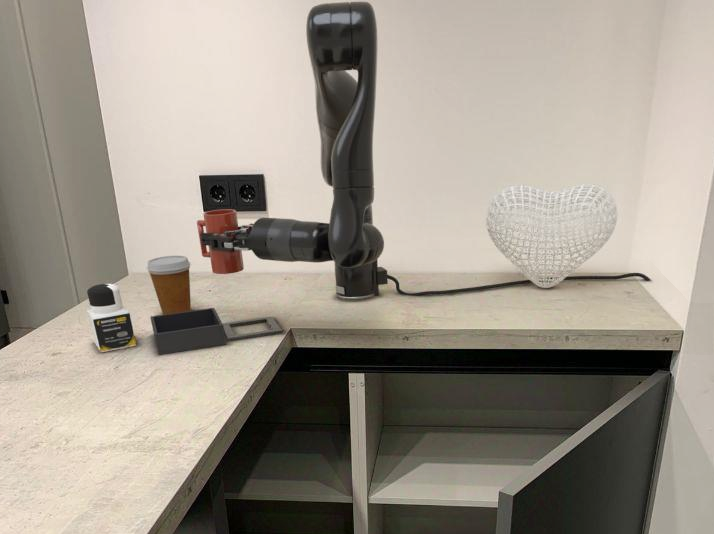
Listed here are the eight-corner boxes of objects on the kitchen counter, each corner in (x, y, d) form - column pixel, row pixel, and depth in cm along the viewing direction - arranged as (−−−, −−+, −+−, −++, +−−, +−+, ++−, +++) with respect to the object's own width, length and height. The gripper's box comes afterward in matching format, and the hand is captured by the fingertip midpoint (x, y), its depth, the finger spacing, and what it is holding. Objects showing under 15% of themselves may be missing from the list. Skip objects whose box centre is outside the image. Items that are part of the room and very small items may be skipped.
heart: (610, 280, 171) (621, 178, 160) (608, 299, 158) (620, 189, 148) (490, 277, 179) (493, 180, 169) (478, 294, 167) (481, 191, 156)
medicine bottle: (100, 353, 145) (86, 292, 139) (94, 343, 151) (80, 285, 145) (136, 346, 148) (124, 286, 142) (129, 336, 154) (116, 279, 148)
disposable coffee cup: (188, 320, 162) (178, 264, 156) (148, 319, 164) (137, 265, 158) (204, 307, 170) (196, 254, 164) (166, 307, 172) (157, 255, 166)
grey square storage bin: (217, 326, 157) (214, 307, 155) (226, 344, 145) (223, 324, 143) (154, 335, 153) (150, 316, 151) (158, 354, 142) (154, 334, 140)
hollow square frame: (271, 318, 159) (271, 316, 159) (282, 333, 150) (282, 330, 150) (221, 326, 157) (220, 323, 156) (229, 341, 147) (228, 338, 147)
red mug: (250, 267, 146) (242, 209, 141) (229, 275, 142) (221, 215, 137) (215, 264, 151) (206, 208, 146) (194, 271, 147) (184, 213, 141)
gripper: (302, 211, 139) (234, 208, 147) (254, 226, 129) (184, 222, 137) (306, 252, 143) (240, 247, 151) (259, 269, 132) (191, 263, 140)
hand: (214, 235), depth 144 cm, fingers closed on red mug, 6 cm apart
